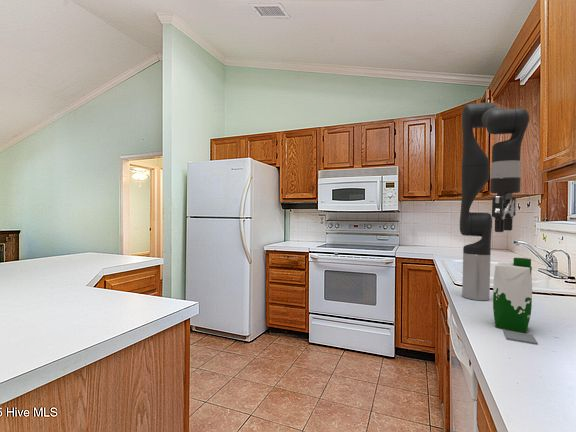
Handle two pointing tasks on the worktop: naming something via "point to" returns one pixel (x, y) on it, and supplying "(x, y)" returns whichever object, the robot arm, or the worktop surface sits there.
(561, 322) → the worktop surface
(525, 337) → the rubber pad
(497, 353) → the worktop surface
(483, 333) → the worktop surface
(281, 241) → the worktop surface
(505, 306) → the soya milk
